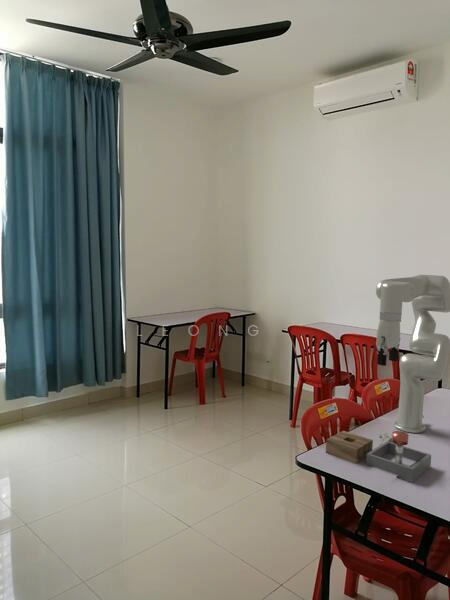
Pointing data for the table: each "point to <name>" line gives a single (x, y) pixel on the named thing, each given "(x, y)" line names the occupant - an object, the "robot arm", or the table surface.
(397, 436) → the red knob with stem
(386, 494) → the table surface
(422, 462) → the tray
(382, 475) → the table surface
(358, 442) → the eye block
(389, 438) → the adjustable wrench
